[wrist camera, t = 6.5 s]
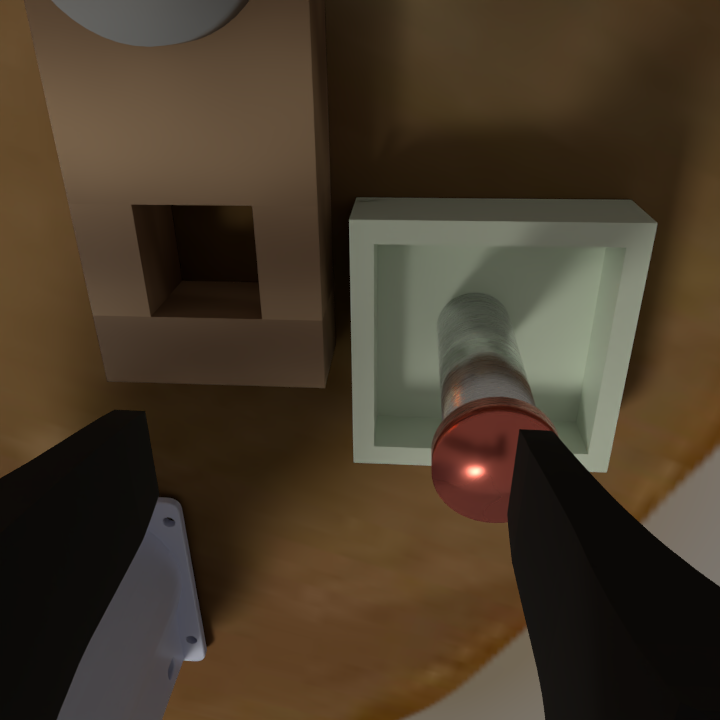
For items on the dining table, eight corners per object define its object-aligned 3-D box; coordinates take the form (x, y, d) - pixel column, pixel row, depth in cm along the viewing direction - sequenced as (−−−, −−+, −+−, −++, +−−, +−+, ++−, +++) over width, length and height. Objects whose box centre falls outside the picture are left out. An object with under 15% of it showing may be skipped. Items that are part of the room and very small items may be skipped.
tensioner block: (335, 344, 23) (314, 431, 18) (142, 339, 24) (72, 423, 19) (316, -257, 16) (272, -372, 11) (34, -245, 16) (-126, -351, 11)
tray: (589, 429, 24) (606, 472, 22) (359, 422, 25) (353, 462, 22) (631, 199, 20) (657, 223, 18) (356, 197, 21) (348, 219, 19)
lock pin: (516, 366, 22) (559, 524, 15) (427, 366, 23) (431, 521, 16) (523, 283, 21) (573, 416, 14) (428, 284, 21) (432, 415, 14)
